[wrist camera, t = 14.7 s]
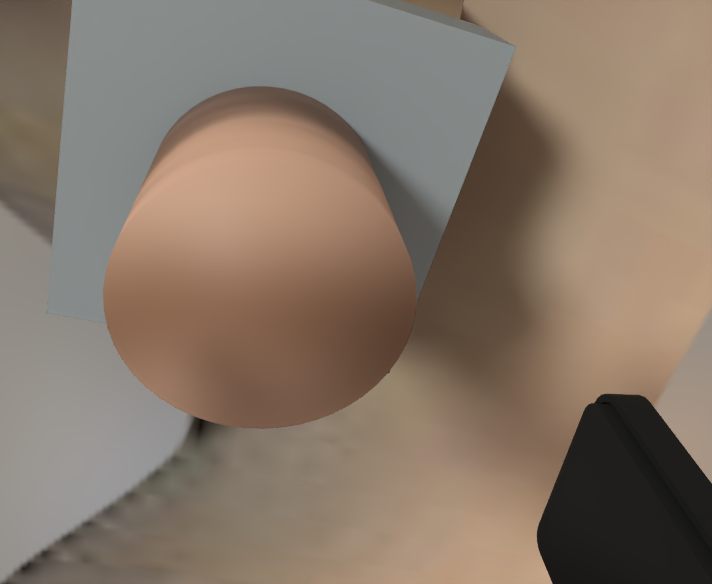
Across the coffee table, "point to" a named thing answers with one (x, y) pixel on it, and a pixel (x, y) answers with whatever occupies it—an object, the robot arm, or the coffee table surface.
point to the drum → (260, 265)
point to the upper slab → (274, 69)
